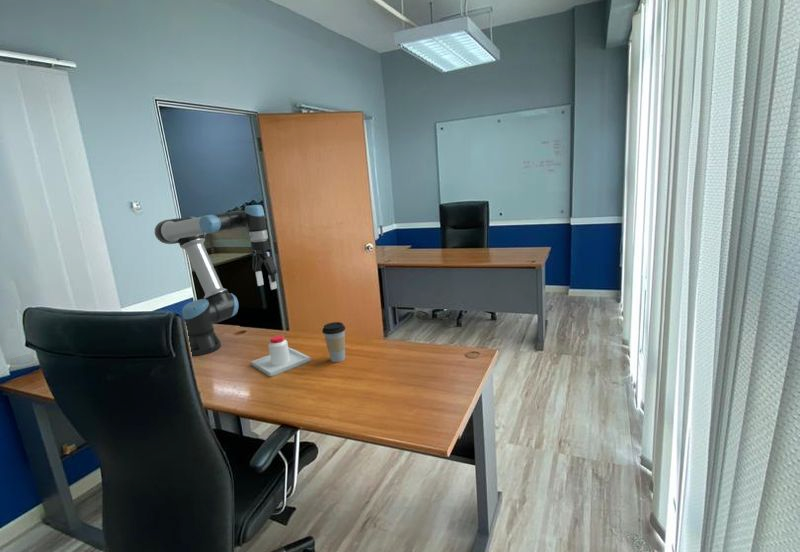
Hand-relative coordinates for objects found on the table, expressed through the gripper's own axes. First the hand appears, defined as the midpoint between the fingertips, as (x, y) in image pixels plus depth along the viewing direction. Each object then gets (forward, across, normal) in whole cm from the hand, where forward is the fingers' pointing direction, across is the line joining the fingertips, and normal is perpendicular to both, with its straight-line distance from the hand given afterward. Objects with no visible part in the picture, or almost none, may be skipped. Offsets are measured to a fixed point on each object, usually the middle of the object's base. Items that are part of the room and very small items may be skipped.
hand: (267, 287), depth 192 cm
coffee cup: (+29, +37, +9) cm, 48 cm away
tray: (+29, +20, -8) cm, 36 cm away
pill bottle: (+28, +20, -8) cm, 36 cm away
